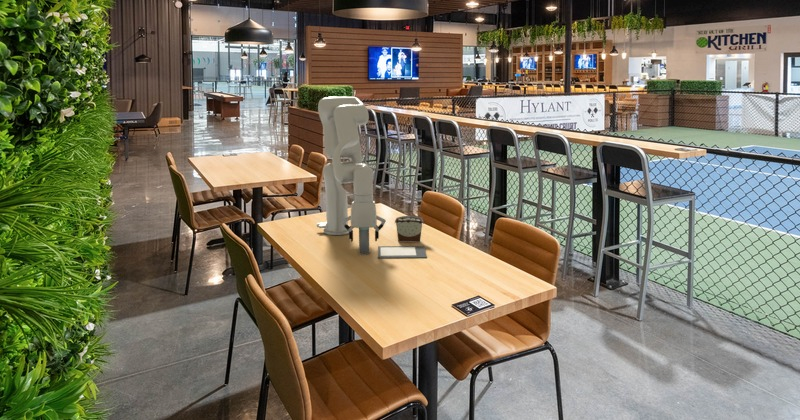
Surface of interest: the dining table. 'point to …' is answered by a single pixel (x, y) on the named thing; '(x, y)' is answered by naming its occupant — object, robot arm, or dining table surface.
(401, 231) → the food container
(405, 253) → the mat
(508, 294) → the dining table surface
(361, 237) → the marker
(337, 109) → the robot arm
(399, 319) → the dining table surface
